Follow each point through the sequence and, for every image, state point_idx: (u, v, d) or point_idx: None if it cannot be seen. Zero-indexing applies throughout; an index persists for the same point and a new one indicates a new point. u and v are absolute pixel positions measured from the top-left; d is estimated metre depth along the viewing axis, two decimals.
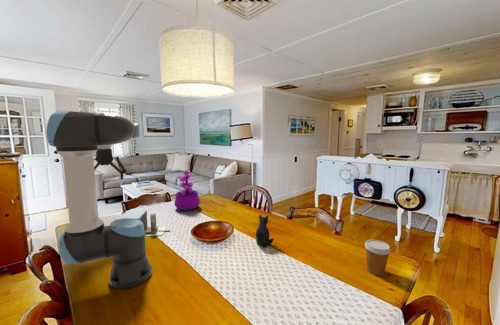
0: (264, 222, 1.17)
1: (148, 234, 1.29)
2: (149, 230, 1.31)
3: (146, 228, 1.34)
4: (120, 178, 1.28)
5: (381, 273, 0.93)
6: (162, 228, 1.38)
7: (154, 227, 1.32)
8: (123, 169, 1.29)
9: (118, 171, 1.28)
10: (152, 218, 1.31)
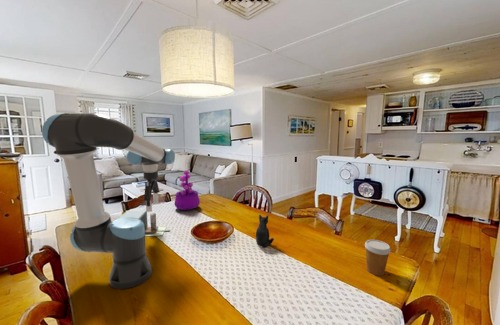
0: (264, 222, 1.17)
1: (148, 234, 1.29)
2: (149, 230, 1.31)
3: (146, 228, 1.34)
4: None
5: (381, 273, 0.93)
6: (162, 228, 1.38)
7: (154, 227, 1.32)
8: None
9: None
10: (152, 218, 1.31)
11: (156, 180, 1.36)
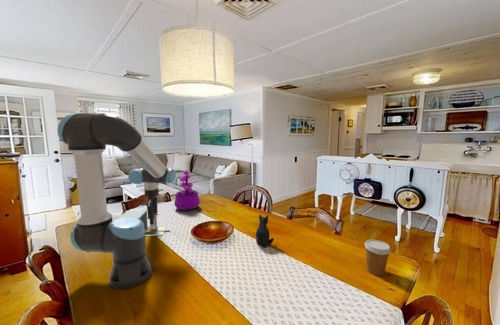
0: (264, 222, 1.17)
1: (148, 234, 1.29)
2: (149, 230, 1.31)
3: (146, 228, 1.34)
4: None
5: (381, 273, 0.93)
6: (162, 228, 1.38)
7: None
8: (148, 215, 1.27)
9: None
10: None
11: (156, 199, 1.36)
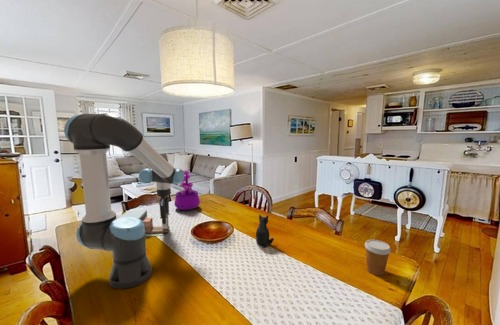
0: (264, 222, 1.17)
1: (148, 234, 1.29)
2: (161, 229, 1.32)
3: (158, 227, 1.35)
4: None
5: (381, 273, 0.93)
6: None
7: None
8: None
9: None
10: None
11: (168, 199, 1.37)
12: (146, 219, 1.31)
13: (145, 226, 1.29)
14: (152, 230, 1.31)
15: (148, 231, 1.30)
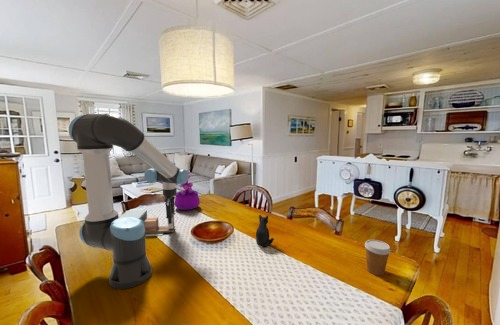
0: (264, 222, 1.17)
1: (148, 234, 1.29)
2: (167, 229, 1.32)
3: (164, 227, 1.35)
4: None
5: (381, 273, 0.93)
6: None
7: None
8: (166, 214, 1.28)
9: None
10: None
11: None
12: (152, 219, 1.32)
13: (151, 226, 1.30)
14: (158, 230, 1.32)
15: (154, 231, 1.30)
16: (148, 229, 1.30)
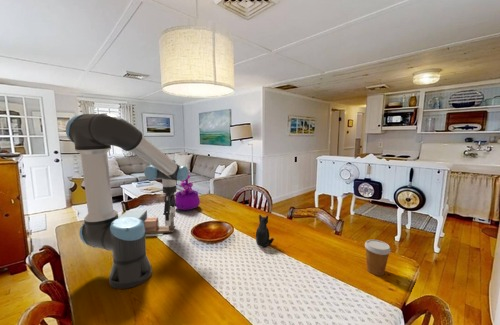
0: (264, 222, 1.17)
1: (148, 234, 1.29)
2: (167, 229, 1.32)
3: (164, 227, 1.35)
4: (165, 218, 1.26)
5: (381, 273, 0.93)
6: None
7: (172, 226, 1.33)
8: (164, 211, 1.24)
9: None
10: (170, 217, 1.32)
11: None
12: (152, 219, 1.32)
13: (151, 226, 1.30)
14: (158, 230, 1.32)
15: (154, 231, 1.30)
16: (148, 229, 1.30)
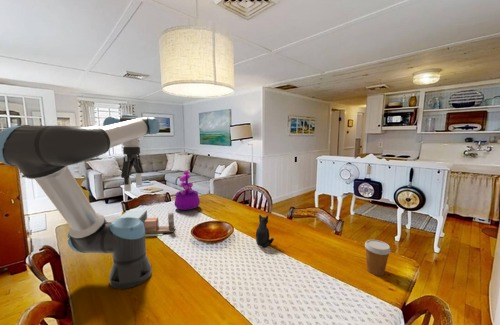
0: (264, 222, 1.17)
1: (148, 234, 1.29)
2: (167, 229, 1.32)
3: (164, 227, 1.35)
4: (124, 182, 1.09)
5: (381, 273, 0.93)
6: None
7: (172, 226, 1.33)
8: (122, 172, 1.06)
9: (124, 174, 1.09)
10: (170, 217, 1.32)
11: (139, 158, 1.21)
12: (152, 219, 1.32)
13: (151, 226, 1.30)
14: (158, 230, 1.32)
15: (154, 231, 1.30)
16: (148, 229, 1.30)
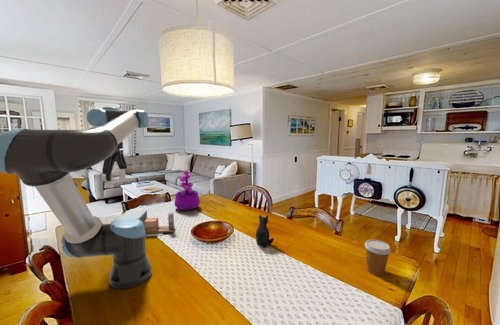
0: (264, 222, 1.17)
1: (148, 234, 1.29)
2: (167, 229, 1.32)
3: (164, 227, 1.35)
4: None
5: (381, 273, 0.93)
6: None
7: (172, 226, 1.33)
8: None
9: None
10: (170, 217, 1.32)
11: (122, 153, 1.15)
12: (152, 219, 1.32)
13: (151, 226, 1.30)
14: (158, 230, 1.32)
15: (154, 231, 1.30)
16: (148, 229, 1.30)
